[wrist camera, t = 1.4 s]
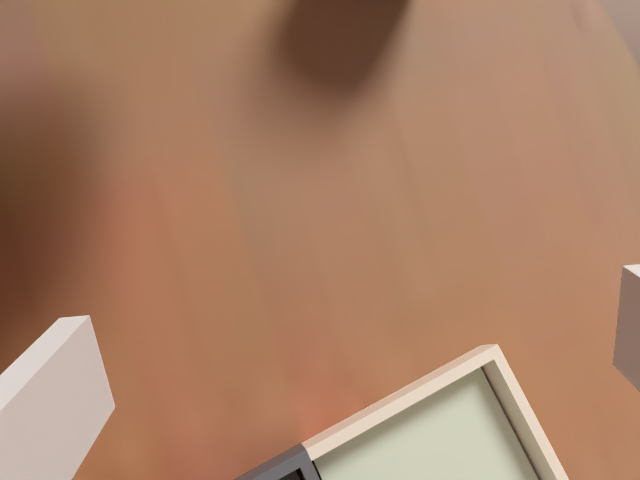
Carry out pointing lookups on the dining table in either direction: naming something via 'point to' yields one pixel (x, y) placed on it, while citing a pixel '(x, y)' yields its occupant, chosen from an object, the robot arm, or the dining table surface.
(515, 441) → the grey flat rectangular tray
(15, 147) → the dining table surface
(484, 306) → the dining table surface
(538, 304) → the dining table surface
